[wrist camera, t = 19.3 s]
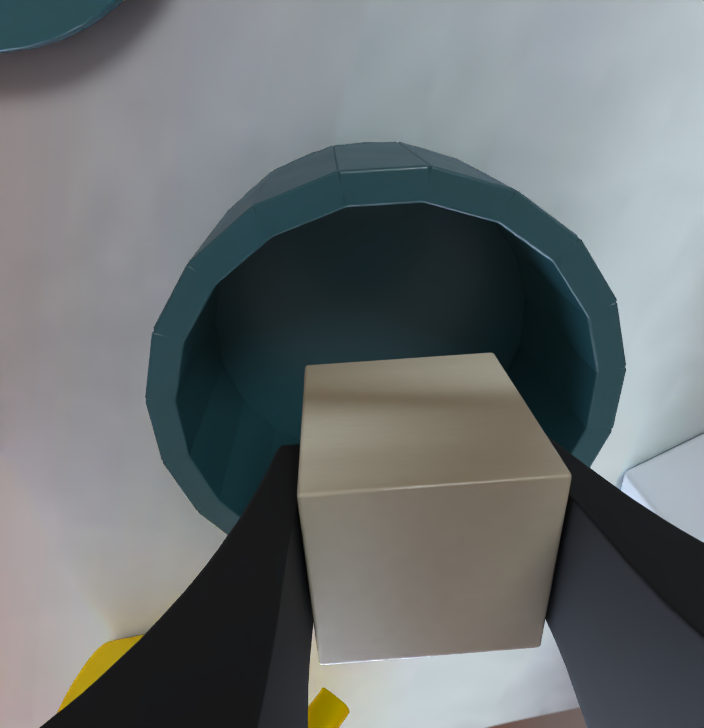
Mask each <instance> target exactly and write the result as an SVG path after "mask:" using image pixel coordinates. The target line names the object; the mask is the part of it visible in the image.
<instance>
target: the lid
mask: <svg viewBox="0 0 704 728" xmlns="http://www.w3.org/2000/svg"><path fill="white" fill-rule="evenodd" d="M122 1H123V0H0V53H8V52H15V51H21V50H28V49H35V48H39V47H42V46H45V45H48V44H51V43H54V42H57V41H60V40H64V39H66V38H68V37H70V36H72V35H74V34H76V33H78V32H80V31H82V30H84V29H85V28H87V27H89V26H91V25H93V24H95V23H96V22H97V21H98V20H100V19H101V18H102V17H104V16H105V15H106V14H108V13H109V12H110V11H112V10H113V9H114V8H116V7H117V6H118V5H119V4H120V3H121V2H122Z"/></svg>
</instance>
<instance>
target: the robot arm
mask: <svg viewBox="0 0 704 728" xmlns="http://www.w3.org/2000/svg"><path fill="white" fill-rule="evenodd" d="M546 436H547V435H546ZM547 437H548V439H549V440H550V442H551V443H552V445H553V447H554V448H555V450H556V451H557V453H558V454H559V456H560V457H561V459H562V461H563V462H564V464H565V465H566V467H567V468H568V470H569V471H570V473H571V476H572V478H571V484H570V489H569V494H568V500H567V505H566V510H565V516H564V521H563V527H562V532H561V537H560V543H559V548H558V553H557V559H556V564H555V569H554V575H553V580H552V585H551V591H550V596H549V601H548V607H547V612H546V617H545V619H546V621H547V623H548V626H549V628H550V630H551V632H552V634H553V637H554V639H555V641H556V643H557V646H558V648H559V650H560V653H561V655H562V658H563V660H564V663H565V665H566V668H567V671H568V673H569V676H570V679H571V682H572V685H573V688H574V691H575V694H576V697H577V700H578V703H579V705H580V708H581V711H582V714H583V717H584V720H585V723H586V726H587V728H704V542H702V541H700V540H698V539H697V538H695V537H693V536H691V535H690V534H688V533H686V532H684V531H682V530H681V529H679V528H678V527H676V526H674V525H673V524H671V523H669V522H668V521H666V520H665V519H663V518H661V517H660V516H658V515H657V514H655V513H654V512H652V511H651V510H649V509H648V508H646V507H645V506H643V505H642V504H640V503H638V502H637V501H635V500H634V499H632V498H631V497H630V496H628V495H627V494H625V493H624V492H622V491H621V490H619V489H618V488H617V487H615V486H614V485H612V484H611V483H610V482H608V481H607V480H605V479H604V478H603V477H601V476H600V475H599V474H597V473H596V472H595V471H593V470H592V469H591V468H589V467H588V466H587V465H585V464H584V463H583V462H581V461H580V460H579V459H577V458H576V457H575V456H573V455H572V454H571V453H569V452H568V451H567V450H566V449H564V448H563V447H562V446H560V445H559V444H558V443H556V442H555V441H554V440H553V439H551V438H550V437H549V436H547ZM299 453H300V444H290V445H281V446H280V447H279V448H278V449H277V451H276V453H275V455H274V458H273V460H272V462H271V464H270V466H269V468H268V470H267V472H266V474H265V476H264V478H263V479H262V481H261V483H260V485H259V487H258V488H257V490H256V492H255V494H254V495H253V497H252V499H251V500H250V502H249V504H248V505H247V507H246V508H245V510H244V512H243V513H242V515H241V517H240V518H239V520H238V521H237V523H236V524H235V526H234V527H233V528H232V530H231V531H230V533H229V534H228V536H227V537H226V539H225V540H224V541H223V543H222V544H221V546H220V547H219V549H218V550H217V551H216V553H215V554H214V555H213V557H212V558H211V559H210V561H209V562H208V563H207V565H206V566H205V567H204V568H203V570H202V571H201V572H200V573H199V575H198V576H197V577H196V578H195V579H194V581H193V582H192V583H191V584H190V585H189V587H188V588H187V589H186V590H185V591H184V593H183V594H182V595H181V596H180V597H179V598H178V599H177V600H176V601H175V603H174V604H173V605H172V606H171V607H170V608H169V609H168V610H167V611H166V612H165V614H164V615H163V616H162V617H161V618H160V619H159V620H158V621H157V622H156V623H155V624H154V625H153V626H152V627H151V628H150V630H149V631H148V632H147V633H146V634H145V635H144V636H143V637H142V638H141V639H140V640H139V641H138V642H137V643H135V644H134V645H133V646H132V647H131V648H130V649H129V650H128V651H127V652H126V653H125V654H124V655H123V656H122V657H121V658H120V659H118V660H117V661H116V662H115V663H114V664H113V665H112V666H111V667H110V668H109V669H108V670H107V671H106V672H105V673H104V674H103V675H102V676H100V677H99V678H98V679H97V680H96V681H95V682H94V683H93V684H92V685H91V686H89V687H88V688H87V689H86V690H85V691H84V692H83V693H82V694H80V695H79V696H78V697H77V698H76V699H74V700H73V701H72V702H71V703H69V704H68V705H67V706H66V707H65V708H63V709H62V710H61V711H60V712H58V713H57V714H56V715H55V716H53V717H52V718H51V719H50V720H49V721H47V722H46V723H45V724H44V725H42V726H41V727H40V728H308V681H309V663H310V652H311V641H312V630H313V614H312V606H311V599H310V591H309V584H308V576H307V569H306V561H305V554H304V546H303V539H302V531H301V524H300V516H299V509H298V501H297V485H298V469H299Z"/></svg>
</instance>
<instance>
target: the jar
mask: <svg viewBox="0 0 704 728" xmlns="http://www.w3.org/2000/svg"><path fill="white" fill-rule="evenodd" d="M621 491H622V492H624V493H625V494H627V495H628V496H630V497H631V498H632V499H634V500H635V501H637V502H638V503H640V504H642V505H643V506H645V507H646V508H648V509H649V510H651V511H652V512H654V513H655V514H657V515H658V516H660V517H661V518H663V519H665V520H666V521H668V522H669V523H671V524H673V525H674V526H676V527H678V528H679V529H681V530H682V531H684V532H686V533H688V534H690V535H691V536H693V537H695V538H697V539H698V540H700V541H702V542H704V433H703V434H701V435H699V436H697V437H695V438H693V439H691V440H689V441H687V442H685V443H683V444H681V445H678V446H676V447H674V448H672V449H670V450H668V451H666V452H664V453H662V454H660V455H658V456H656V457H654V458H652V459H650V460H648V461H646V462H644V463H641V464H639V465H637V466H635V467H633V468H631V469H629V470H627V471H626V472H625V474H624V478H623V483H622V487H621Z"/></svg>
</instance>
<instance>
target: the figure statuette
mask: <svg viewBox="0 0 704 728" xmlns="http://www.w3.org/2000/svg"><path fill="white" fill-rule="evenodd" d="M143 636H144V635H140V636H135V637H130V638H125V639H119V640H114V641H110V642H107V643H105V644H103V645H102V646H101V647H99V648H98V649H97V650H96V651H95V652H94V654H93V655H92V656H91V657H90V658H89V660H88V661H87V663H86V664H85V665H84V667H83V668H82V669H81V671H80V673H79V674H78V676H77V677H76V679H75V680H74V682H73V684H72V685H71V687H70V689H69V691H68V692H67V694H66V696H65V698H64V700H63V702H62V704H61V706H60V708H59V710H58V712H60V711H61V710H62V709H63V708H65V707H66V706H67V705H68V704H69V703H71V702H72V701H73V700H74V699H76V698H77V697H78V696H79V695H80V694H82V693H83V692H84V691H85V690H86V689H87V688H88V687H89V686H91V685H92V684H93V683H94V682H95V681H96V680H97V679H98V678H99V677H100V676H102V675H103V674H104V673H105V672H106V671H107V670H108V669H109V668H110V667H111V666H112V665H113V664H114V663H115V662H116V661H117V660H118V659H120V658H121V657H122V656H123V655H124V654H125V653H126V652H127V651H128V650H129V649H130V648H131V647H132V646H133V645H134V644H135V643H137V642H138V641H139V640H140V639H141V638H142V637H143ZM58 712H57V713H58ZM348 714H349V709H348V707H347V705H346V704H345V703H344V702H342V701H341V700H340V699H339V698H337V697H336V696H335V695H334V694H332V693H331V692H330V691H329V690H327V689H326V688H322V689H321V691H320V692H319V694H318V695H317V696H316V697H315V699H314V700H313V701H312V702H311V704H310V705H309V706H308V728H339V727H340V725H341V724H342V722H343V721H344V720H345V718H346V717H347V716H348Z"/></svg>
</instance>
